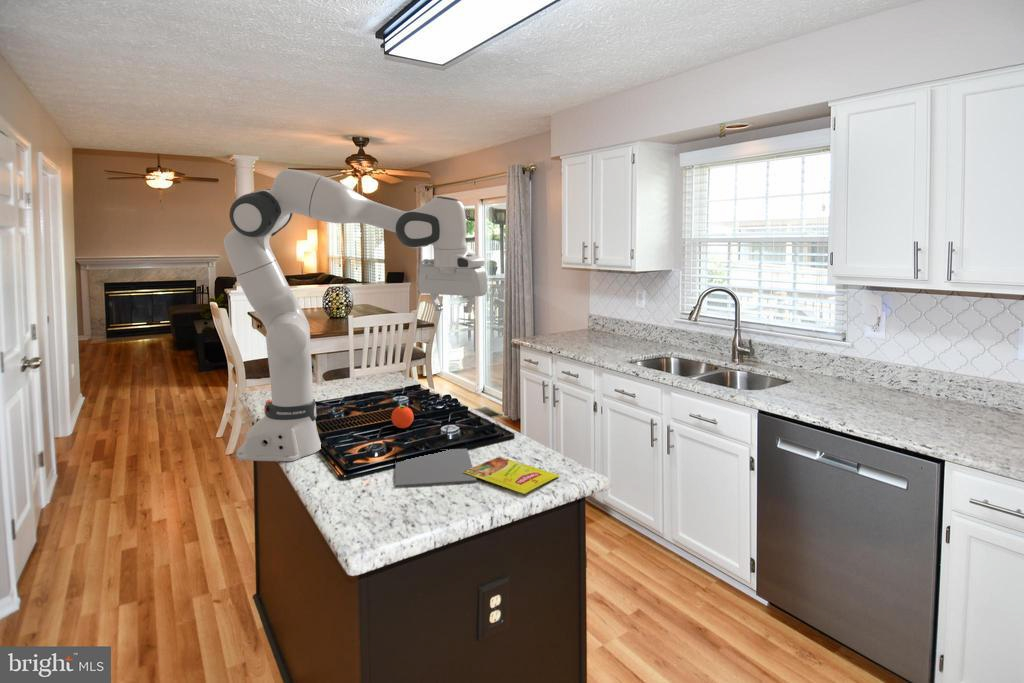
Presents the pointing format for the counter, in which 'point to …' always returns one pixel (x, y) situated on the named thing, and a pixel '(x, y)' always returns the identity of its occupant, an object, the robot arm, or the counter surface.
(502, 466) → the food package
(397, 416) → the clementine
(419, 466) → the mat
